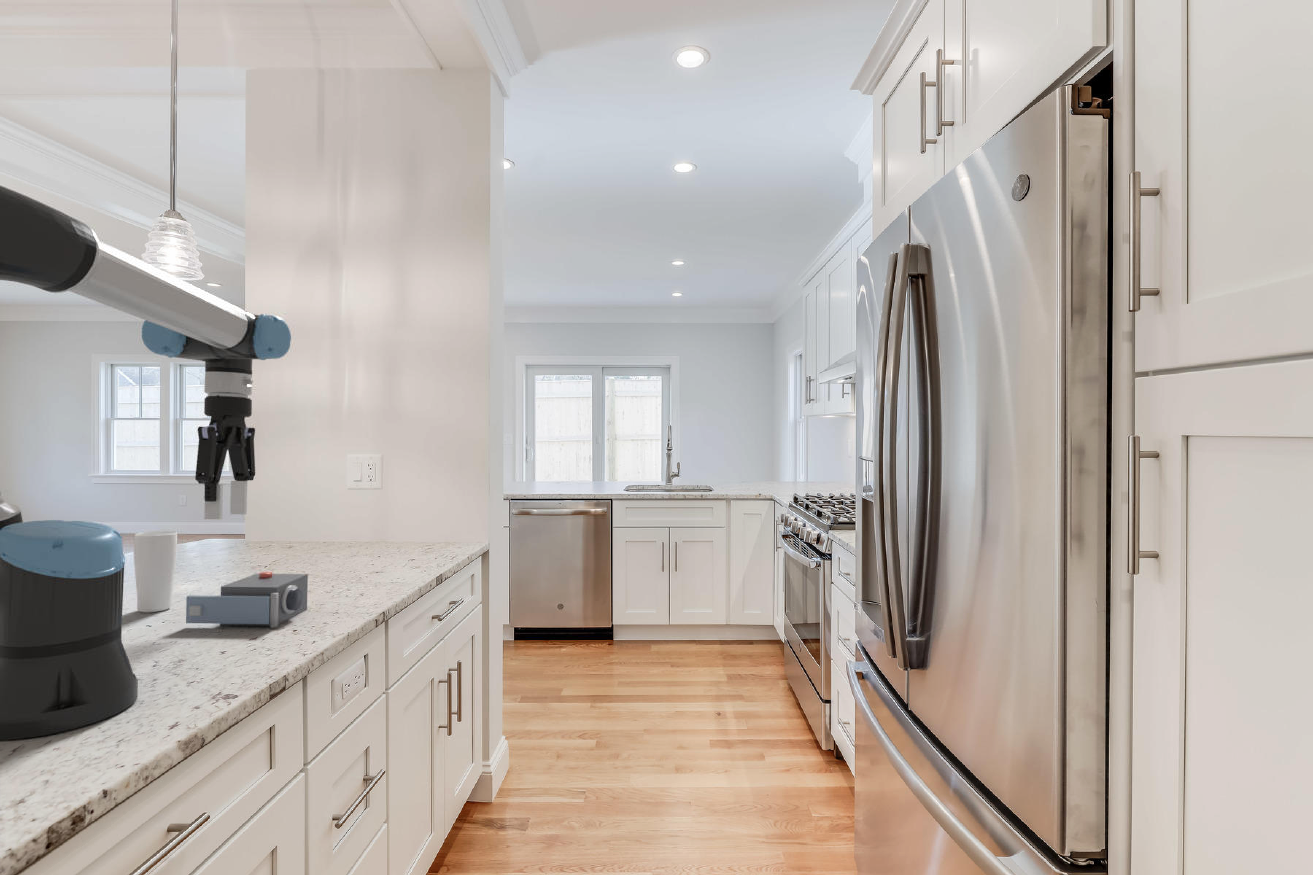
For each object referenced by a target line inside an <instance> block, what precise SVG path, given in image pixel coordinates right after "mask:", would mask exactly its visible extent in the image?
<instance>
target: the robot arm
mask: <svg viewBox="0 0 1313 875" xmlns="http://www.w3.org/2000/svg"><path fill="white" fill-rule="evenodd" d="M0 281H6V282H15V283H19V284H24V285H26V286H27V285H28V286H31V287H35V288H37V289H39V290H42V291H46V292H49V293H54V294H60V293H66V292H70V293H74V294H77V295H79V296H81V297H84V298H87V299H89V300H92V301H94V302H97V303H100V304H103V305H105V306H106V307H107V306H108V307H111V308H113V309H115V310H118V311H121V312H124V313H126V314H129V315H131V316H132V317H133V316H134V317H137V318H138V319H141V320H144V321H143V323H142V326H141V340H142V342H143V344H144V346H145V348H147V349H148V350H149V351H150V352H151V353H154V354H155V355H160V356H166V357H167V358H170V359H171V358H178V359H186V360H193V361H201V362H204V363H205V364H204V367H205V368H204V390H203V392H204V393H205V394H208V395H207V396H205V397H204V401H203V402H204V410H203V411H204V412H203V413H204V415H205V416H207V417H210V421H209V424H208V426H198V427H197V435H198V445H197V457H196V468H195V475H194V476H195V477H194V478H195V481H196V482H197V483H198V484H199V485H200V484H201V485H203V484H204V496H203V497H204V498H203V499H204V520H222V519H223V493H224V491H223V489H224V484H223V483H220V480H221V477H222V473H223V468H224V466H225V465H224V464H225V461H226V458H227V453H228V457H229V460H230V461H229V462H230V466H231V471H232V475H233V479H234V480H231V481H230V505H229V507H230V510H229V513H230V515H247V507H248V506H247V505H248V504H247V503H248V481H254V478H255V476H256V460H255V459H256V457H255V433H256V428H255V427H248V426H247V424H246V421H245V418H250V417H251V416H252V414H253V413H252V412H253V411H252V410H253V408H252V407H253V406H252V404H253V402H252V401H253V400H252V398H250V397H249V396H252V394H253V392H252V391H253V389H252V388H253V387H252V385H253V384H254V383H253V382H254V381H253V360H259V361H266V360H277V359H281V358H282V357H284V356H286V354H287V353H288V352H289V350H290V349H291V341H292V335H291V330H290V328H289V326H288V324H287V323H286V321H285V320H284V319H283V318H281V317H280V316H277V315H270V314H265V313H263V314H255V313H251V312H249V311H247V310H245V309H243V308H240V307H238V306H237V305H234V304H233V303H232V304H231V303H230V302H228V301H226V300H224V299H222V298H220V297H218V296H215V295H214V294H212V293H209V292H207V291H205V290H203V289H201V288H200V287H197V286H194V285H193V284H191V283H189V282H186V281H184V280H183V279H180V278H178V277H177V276H174V275H173V274H170V273H168V272H166V271H164V270H162V269H160V268H157V267H156V266H155V265H154V266H153V265H152V264H150V263H147V262H146V261H143V260H142V259H140V258H137V257H135V256H133V255H132V254H130V253H127V252H125V251H123V250H122V249H119V248H117V247H115V246H113V245H111V244H109V243H106V242H105V241H103V240H101V239H99V238H98V236H97V234H96V233H95V231H94V230H93V228H92V227H91V226H89V225H88V224H86V223H84V222H83V221H80V220H79V219H76V218H74V217H72V216H70V215H68V214H66V213H64V212H62V211H60V210H58V209H56V208H53V207H51V206H49V205H47V204H45V203H43V202H40V201H39V200H36V199H34V198H32V197H30V196H28V195H24V194H23V193H20V192H18V191H16V190H12V189H10V188H7V187H5V186H2V185H0ZM125 562H126V557H125V554H124V545H123V537H122V535H121V533H120V532H119V531H118V530H117V529H115V528H114V527H112V526H109V525H106V524H102V523H98V522H91V521H84V520H83V521H82V520H70V521H69V520H59V519H53V520H52V519H51V520H47V519H46V520H32V521H25V522H24V521H23V517H22V510H21V508H20V506H18V505H16V504H14V503H12V502H10V501H8V500H5V499H4V498H3V497H2V495H1V492H0V740H2V741H3V740H4V741H5V740H17V739H28V738H34V737H41V736H47V735H52V734H53V735H54V734H57V733H62V732H65V731H70V730H75V729H77V728H82V727H84V726H88V725H92V724H95V723H98V722H100V721H103V720H106V719H107V718H110V717H113V716H115V715H117V714H119V713H121V712H124V711H125V710H126V709H128V708H129V707H131V706H132V705H134V703H135V702H136V701H137V699H138V693H139V692H138V690H139V689H138V688H139V686H138V684H139V683H138V682H139V681H138V677H137V676H136V674H135V673H134V671H133V668H132V665H131V662H130V660H129V657H128V655H127V652H126V650H125V646H124V644H123V640H122V630H123V629H122V626H123V625H122V623H123V603H124V582H125V581H124V580H125Z"/></svg>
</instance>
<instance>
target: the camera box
mask: <svg viewBox="0 0 1313 875" xmlns="http://www.w3.org/2000/svg"><path fill="white" fill-rule="evenodd" d="M308 575H309V574H308V573H307V574H306V573H273V571H263V572H259V573H255V574H251V575H249V576H246V577H244V578H241V579H238V580H236V581H233V582H231V583H230V582H229V583H227V584H224V585H221V586H220V596H271V593H278V626H279V625H280V624H282V623H284V622H286V621H288V620H289V619H292V618H294V617H295V616H297V615H299V614H301V613H302V612H305V611H307V610H308V587H309V586H308V584H309V583H308V580H309V579H308V578H309V577H308ZM219 626H258V627H259V626H261V627H262V626H264V627H266V626H268V627H270V624H219Z"/></svg>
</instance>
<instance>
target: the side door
mask: <svg viewBox="0 0 1313 875" xmlns="http://www.w3.org/2000/svg"><path fill="white" fill-rule="evenodd" d="M185 599H186V603H185V604H186V605H185V624H213V625H214V624H219V625H220V624H270V626H269V628H270V629H275V628H278V627H279V625H278V593H271V596H221V595H206V594H205V595H197V594H196V595H191V594H190V595H187V596H186V598H185Z"/></svg>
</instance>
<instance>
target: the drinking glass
mask: <svg viewBox="0 0 1313 875" xmlns="http://www.w3.org/2000/svg"><path fill="white" fill-rule="evenodd" d="M133 537H134V538H133V567H134V576H135V577H134V579H135V586H136V587H135V588H136V599H137V600H136V602H137V603H136V606H137V607H136V608H137V612H140V613H145V614H146V613H147V614H148V613H149V614H150V613H159V612H163V611H166V610H168V609H171V607H172V605H173V604H172V603H173V591H174V583H175V574H176V567H177V558H178V549H179V548H178V546H179V545H178V532H177V531H175V530H155V531H153V530H152V531H144V532H143V531H142V532H138V533H135V534H134V535H133Z"/></svg>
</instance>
